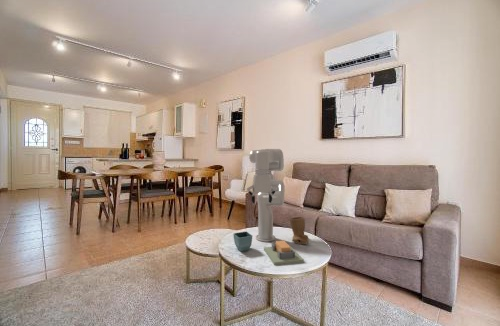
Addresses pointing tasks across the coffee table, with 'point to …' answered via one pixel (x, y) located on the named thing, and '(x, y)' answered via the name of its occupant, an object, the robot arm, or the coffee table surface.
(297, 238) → the brown boot
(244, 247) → the flower pot
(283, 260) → the green bracket base plate
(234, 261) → the coffee table surface
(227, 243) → the coffee table surface
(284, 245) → the tall tan rectangular prism
